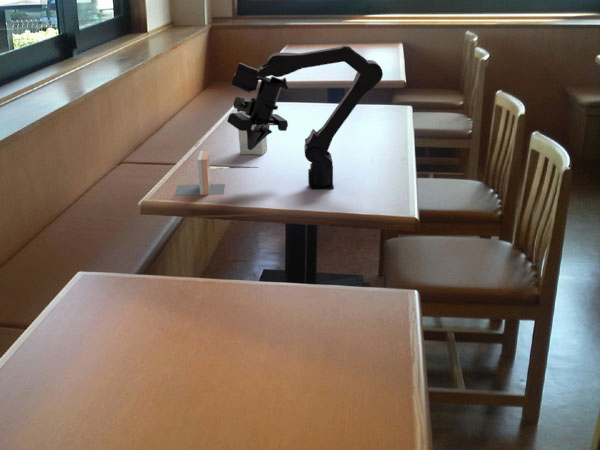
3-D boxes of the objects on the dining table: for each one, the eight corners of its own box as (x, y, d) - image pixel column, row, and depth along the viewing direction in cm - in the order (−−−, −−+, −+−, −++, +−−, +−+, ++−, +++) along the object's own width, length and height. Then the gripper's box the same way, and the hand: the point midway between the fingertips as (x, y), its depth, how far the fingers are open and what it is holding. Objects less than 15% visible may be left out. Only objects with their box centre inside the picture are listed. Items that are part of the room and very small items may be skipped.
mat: (225, 185, 193) (225, 183, 192) (223, 196, 184) (223, 194, 184) (178, 187, 192) (177, 185, 192) (174, 197, 184) (174, 195, 183)
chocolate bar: (251, 175, 200) (193, 173, 203) (251, 178, 200) (194, 176, 203) (258, 167, 208) (202, 164, 211) (258, 170, 208) (203, 167, 211)
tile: (210, 184, 192) (208, 150, 188) (208, 194, 184) (206, 159, 180) (202, 184, 192) (200, 150, 188) (200, 194, 184) (197, 159, 180)
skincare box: (267, 151, 227) (266, 107, 222) (262, 155, 222) (261, 111, 216) (244, 149, 229) (242, 106, 224) (238, 154, 224) (236, 110, 218)
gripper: (270, 88, 194) (254, 136, 200) (223, 84, 180) (207, 137, 187) (296, 104, 188) (279, 153, 195) (249, 102, 174) (232, 155, 181)
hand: (249, 149), depth 189 cm, fingers closed
